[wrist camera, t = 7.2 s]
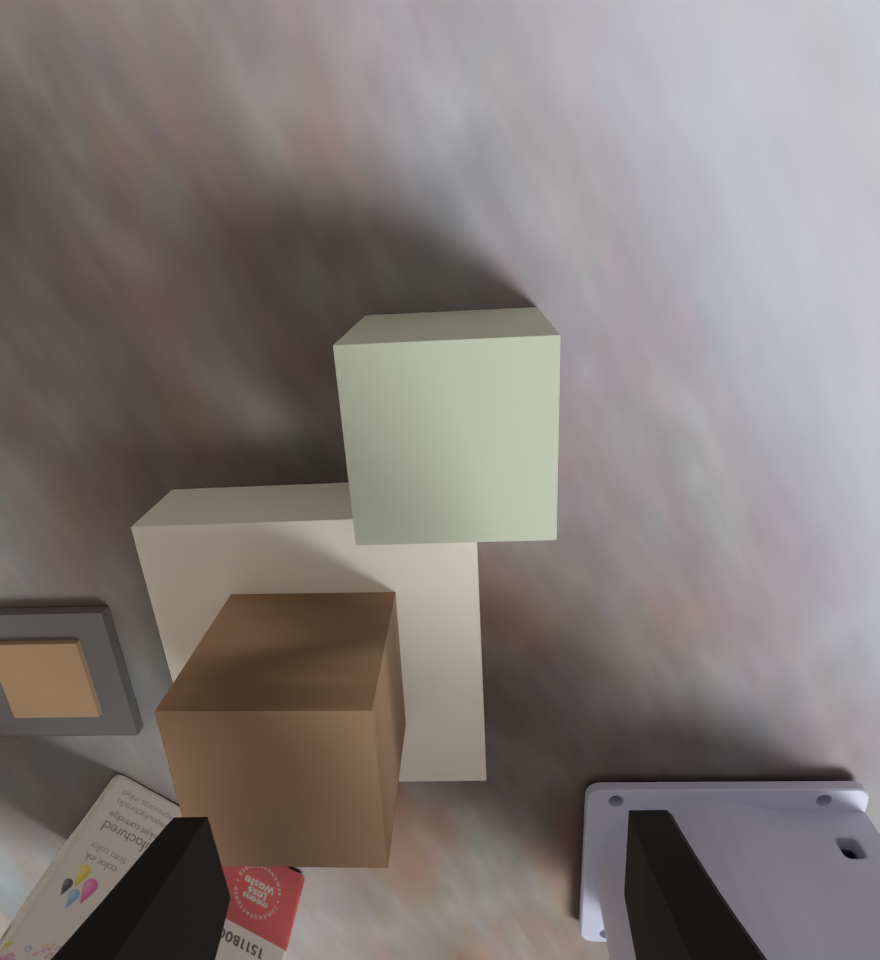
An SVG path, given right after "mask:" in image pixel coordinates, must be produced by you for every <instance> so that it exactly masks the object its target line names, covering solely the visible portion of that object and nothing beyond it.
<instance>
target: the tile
mask: <svg viewBox="0 0 880 960" xmlns="http://www.w3.org/2000/svg"><path fill="white" fill-rule="evenodd" d="M142 727H143V725H142V721H141V718H140V714H139V711H138V707H137V704H136V701H135V697H134V694H133V690H132V687H131V683H130V680H129V677H128V673H127V670H126V666H125V663H124V659H123V656H122V652H121V649H120V646H119V642H118V639H117V635H116V632H115V628H114V625H113V622H112V618H111V615H110V611H109V608H108V606H86V607H41V608H0V736H95V735H138V734H139V732H140V731H141V729H142Z"/></svg>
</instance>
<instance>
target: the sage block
mask: <svg viewBox="0 0 880 960" xmlns="http://www.w3.org/2000/svg"><path fill="white" fill-rule="evenodd" d="M333 350H334V359H335V368H336V377H337V385H338V394H339V403H340V412H341V420H342V429H343V438H344V447H345V455H346V464H347V473H348V481H349V490H350V499H351V508H352V516H353V525H354V534H355V543H356V545H391V544H426V543H462V542H498V541H534V540H556V537H557V485H558V434H559V382H560V334H559V333H558V332H557V330H556V329H555V328H554V327H553V326H552V324H551V323H550V322H549V321H548V320H547V318H546V317H545V316H544V315H543V314H542V312H541V311H540V310H539V309H538V308H537V307H528V308H507V309H486V310H466V311H445V312H424V313H403V314H382V315H365V316H364V317H363V318H362V319H361V320H360V321H359V322H358V323H357V324H356V325H355V326H353V327H352V328H351V329H350V330H349V331H348V332H347V333H346V334H345V335H344V336H343V337H341V338H340V339H339V340H338V341H337V342H336V343H335V344H334V345H333Z"/></svg>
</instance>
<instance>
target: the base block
mask: <svg viewBox="0 0 880 960" xmlns="http://www.w3.org/2000/svg"><path fill="white" fill-rule="evenodd" d="M131 530H132V533H133V537H134V541H135V544H136V548H137V552H138V556H139V559H140V563H141V567H142V570H143V574H144V578H145V581H146V585H147V589H148V593H149V596H150V600H151V604H152V607H153V611H154V615H155V619H156V622H157V626H158V630H159V633H160V637H161V641H162V644H163V648H164V652H165V656H166V659H167V663H168V667H169V670H170V674H171V678H172V681H173V683H174V681H175V680H176V678H177V677H178V675H179V674H180V672H181V670H182V669H183V667H184V666H185V664H186V663H187V661H188V660H189V658H190V657H191V655H192V653H193V652H194V650H195V649H196V647H197V646H198V644H199V643H200V641H201V640H202V638H203V637H204V635H205V633H206V632H207V630H208V629H209V627H210V626H211V624H212V623H213V621H214V620H215V618H216V616H217V615H218V613H219V612H220V610H221V609H222V607H223V606H224V604H225V603H226V601H227V600H228V598H229V596H230V595H231V594H286V593H363V592H396V604H397V617H398V630H399V643H400V656H401V669H402V682H403V695H404V708H405V721H406V726H405V734H404V742H403V750H402V758H401V766H400V774H399V782H406V781H486V752H485V721H484V697H483V673H482V649H481V624H480V600H479V576H478V552H477V542H462V543H426V544H391V545H356V543H355V534H354V525H353V516H352V508H351V499H350V490H349V483H326V484H300V485H275V486H250V487H225V488H199V489H174V490H171V491H170V492H169V493H168V494H167V495H166V496H165V497H164V498H162V499H161V500H160V501H159V502H158V503H157V504H156V505H155V506H154V507H153V508H151V509H150V510H149V511H148V512H147V513H146V514H145V515H144V516H143V517H141V518H140V519H139V520H138V521H137V522H136V523H135V524H134V525H133V526H132V527H131Z"/></svg>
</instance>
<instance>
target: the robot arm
mask: <svg viewBox="0 0 880 960" xmlns="http://www.w3.org/2000/svg"><path fill="white" fill-rule="evenodd" d="M612 796H617V797H612ZM868 800H869V795H868V793H867V792H866V790H865V789H864V788H863V786H862V785H861V784H860V783H858V782H854V781H759V782H599V783H594V784H592V785H590V786H589V787H588V788H587V789H586V792H585V807H584V828H583V850H582V871H581V893H580V915H579V927H580V933H581V936H582V937H583V938H584V939H586V940H588V941H607V946H608V951H609V956H610V960H880V834H879V833H878V831H877V830H876V828H875V827H874V825H873V824H872V822H871V821H870V819H869V818H868V816H867V815H866V813H865V811H866V807H867V803H868ZM230 898H231V897H230V893H229V890H228V886H227V883H226V879H225V876H224V872H223V869H222V865H221V861H220V858H219V854H218V851H217V847H216V844H215V840H214V837H213V833H212V830H211V826H210V823H209V819H208V817H174V818H173V819H172V820H171V821H170V822H169V823H168V824H167V825H166V827H165V828H164V829H163V830H162V831H161V832H160V834H159V835H158V836H157V837H156V838H155V839H154V841H153V842H152V843H151V844H150V845H149V847H148V848H147V849H146V850H145V851H144V853H143V854H142V855H141V856H140V857H139V858H138V860H137V861H136V862H135V863H134V864H133V866H132V867H131V868H130V869H129V870H128V871H127V873H126V874H125V875H124V876H123V877H122V879H121V880H120V881H119V882H118V883H117V884H116V886H115V887H114V888H113V889H112V890H111V891H110V893H109V894H108V895H107V896H106V897H105V898H104V900H103V901H102V902H101V903H100V904H99V905H98V906H97V908H96V909H95V910H94V911H93V912H92V913H91V914H90V916H89V917H88V918H87V919H86V920H85V921H84V922H83V923H82V925H81V926H80V927H79V928H78V929H77V930H76V931H75V933H74V934H73V935H72V936H71V937H70V938H69V939H68V941H67V942H66V943H65V944H64V945H63V946H62V947H61V948H60V949H59V951H58V952H57V953H56V954H55V955H54V956H53V957H52V958H51V959H50V960H215V958H216V954H217V951H218V947H219V943H220V939H221V935H222V931H223V927H224V923H225V919H226V915H227V911H228V907H229V902H230Z"/></svg>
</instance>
